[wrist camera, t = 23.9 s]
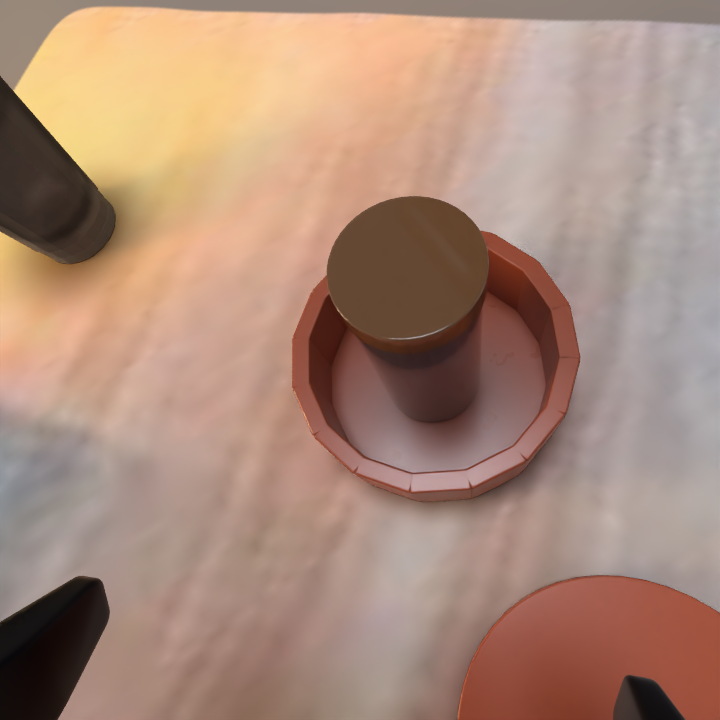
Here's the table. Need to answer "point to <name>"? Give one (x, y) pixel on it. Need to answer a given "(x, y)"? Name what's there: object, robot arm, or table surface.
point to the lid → (595, 652)
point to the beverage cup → (46, 190)
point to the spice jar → (415, 301)
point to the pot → (472, 427)
